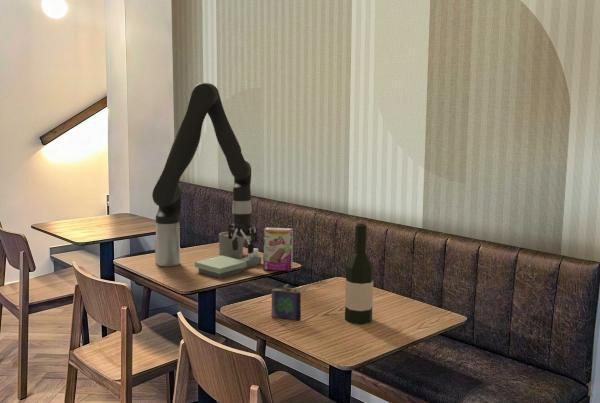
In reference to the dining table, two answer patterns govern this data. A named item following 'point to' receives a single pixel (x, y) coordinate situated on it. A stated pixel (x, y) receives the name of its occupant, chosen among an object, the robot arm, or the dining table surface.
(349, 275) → the wine bottle
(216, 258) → the green lidded box
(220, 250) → the coffee mug
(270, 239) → the candy bar box
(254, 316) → the dining table surface
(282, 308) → the flask
